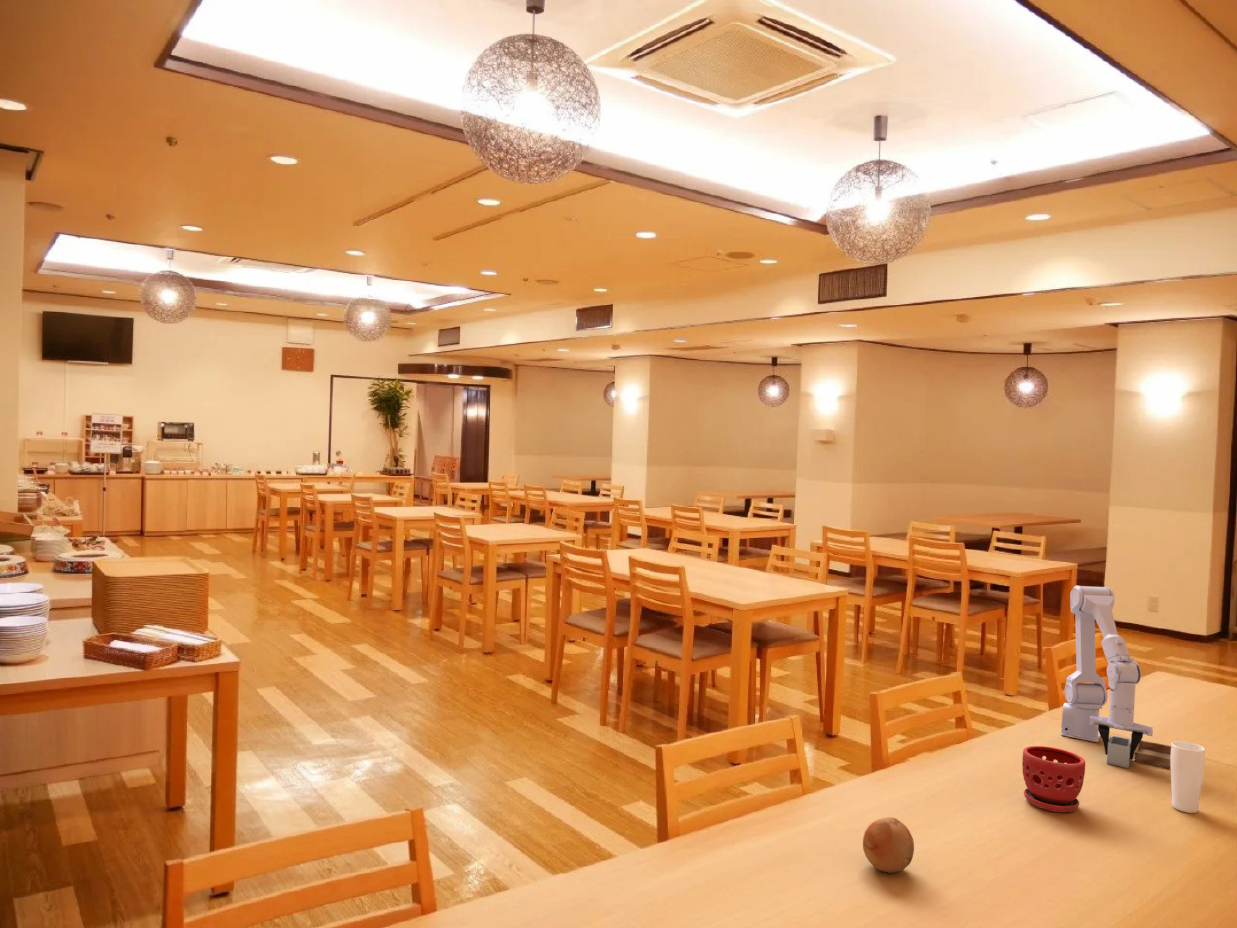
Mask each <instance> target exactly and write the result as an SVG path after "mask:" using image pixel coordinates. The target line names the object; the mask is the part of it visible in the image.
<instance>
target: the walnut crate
mask: <svg viewBox="0 0 1237 928" xmlns="http://www.w3.org/2000/svg"><path fill="white" fill-rule="evenodd" d="M1170 752H1171V745H1168V744H1163V743H1162V744H1161V743H1159V742H1158V743H1157V742H1153V741H1146V740H1142V739H1141V741H1140V742H1139V744H1138V746H1137V748H1136V750H1135V752H1134V759H1133V761H1134V762H1136V763H1142V764H1147V765H1152V766H1155V767H1156V766H1157V767H1160V768H1166V769H1170V770H1171V768H1170Z"/></svg>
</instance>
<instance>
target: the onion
mask: <svg viewBox="0 0 1237 928" xmlns="http://www.w3.org/2000/svg"><path fill="white" fill-rule="evenodd" d="M914 841H915V840H914V838H913V836H912V833H911V831H910V830H909V828H908V827H907V825H906V824H904V823H903V822H901V821H900V820H899V819H897V818H895V817H890V816H888V817H887V816H886V817H881V818H878V819H876V820H874V821H873V822H871V823H870V824H869V825H868V826H867V828H866V830H864V833H863V838H862V849H863V852H864V855H865V858H866V859H867V861H868V862H869V864H871V865H872V866H873V868H876V870H878V871H880V872H883V871H884V872H883V873H887V872H888V873H887V874H893V873H898V872H901V871H903V870H905V869H906V868H908V866H909V865H910V864H911V862H912V860H913V857H914V852H915V842H914Z"/></svg>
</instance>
